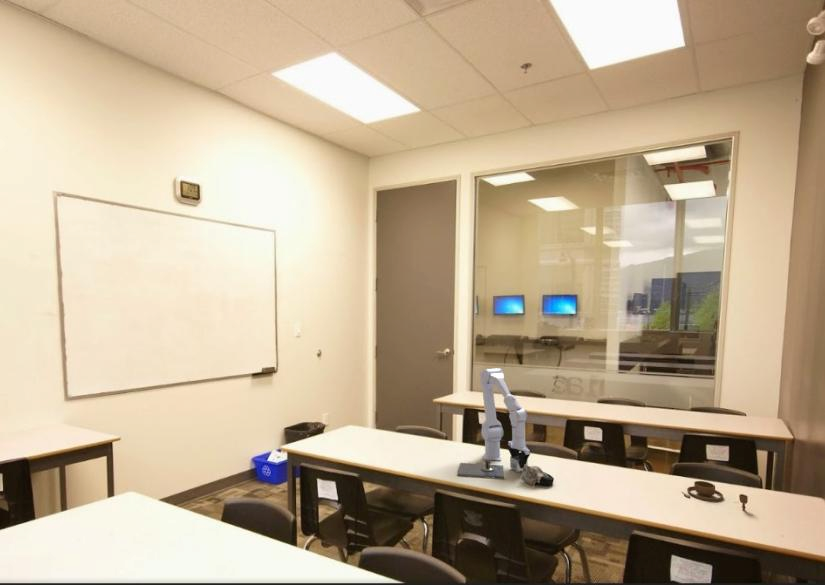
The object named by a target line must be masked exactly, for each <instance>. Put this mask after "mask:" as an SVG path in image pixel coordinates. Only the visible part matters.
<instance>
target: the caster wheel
mask: <svg viewBox="0 0 825 585" xmlns="http://www.w3.org/2000/svg"><path fill="white" fill-rule="evenodd" d="M521 472H522V473H521V477H520V480H522V481H524V482H525V483H527V484H529V485H531V486H533V487H535V485H536V483H537V484H542V485H544V486H553V485H554V481H555V478H554V476H552V475H551V474H549V473H547V472H544V471H543V470H542V468H540V467H539V466H536V465H531V466H529V464H528V465H526V464H524V468H523V471H521Z"/></svg>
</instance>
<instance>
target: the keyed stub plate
mask: <svg viewBox="0 0 825 585" xmlns="http://www.w3.org/2000/svg"><path fill="white" fill-rule="evenodd" d="M504 471H505V470H504V465H499V464H491V460H485V464H484V463H469V462H467V463H466V462H460V463H459V468H458V471H457V476H458V477H468V476H475V477H474V478H483V477H494V478H493V479H498V478H504V479H505V472H504Z"/></svg>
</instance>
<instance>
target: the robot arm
mask: <svg viewBox="0 0 825 585" xmlns="http://www.w3.org/2000/svg"><path fill="white" fill-rule="evenodd" d="M479 376H480V386H481V388H482V389H481V391H482V396H483V398H482V399H483V407H484V416H485V420H484V422H482V424H481V432H480V433H481V437H482V438H483V440H484V454H483V455H484V458H483V460H485V461H501V462H502V456H501V445H500V444H501V440H502V438H503V436H504V429H503V426H502V423H501V422H500V421H499V420H498V419H497V412H496V411H497V410H496V404H495V396H494V395H495V393H494V387H495V386H496V388H497V389H498V390H499V392H500V393H501V395H502V396H503V404H504V405H505V406H506V409H507V410H508V412H509V415H508V416H509V420H510V425H511V430H512V431H511V432H512V433H511V435H512V436H511V438H512V439H511V440H508V444H507V445H508V446H509V447H507V450H508V452H509V454H510V457H511V456H518V457H519V461H520V468H521V469H522V468H524V464H526V462H527V459H529V457H530V455H531V451H530V449H529V448H528V447H527V446H526V421H527V420H528V416H529V415H528V412H527V410H526V409H525V408H523V406H520V404H519V402H518V400H517V398H516V397H515V395H513V394H511V392H510V390H509V388H508V386H507V384H506V383H507V382H506V381H505V380H504V378H505V374H504V372H503V370H502V368H500V367H497V368H496V367H495V368H483V369H482V370H481V372H480V374H479Z"/></svg>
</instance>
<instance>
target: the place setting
mask: <svg viewBox="0 0 825 585" xmlns="http://www.w3.org/2000/svg"><path fill="white" fill-rule="evenodd" d="M693 485H694V486H689V487H687V488H686V491H687V493H688V494H689V495H688V494H686V493H685V492H683V491H681V493H682V495H683V496H684V497H685V498H691V497H693V498H695V497H696V498H695V499H698V500H701V499H702V500H701V501H706V500H707V502H720V501H722V500H723V499H724V495H723V493H722V492H720V491H718V490H716V486H715V484H714V483H711V482H708V481H702V480H696V481H694V483H693ZM692 491H695V492H696V493H697V494H698V495H697V494H695V493H693V492H692ZM716 494H717V495H716ZM714 495H716V496H718V497H712V496H714ZM738 497H739V502H740V503H741V510H742V511H743V512H746V504H747V503H748V501H749V500H748V498H749V497H748V495H747V494H741V493H740V494H739V496H738Z"/></svg>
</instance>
